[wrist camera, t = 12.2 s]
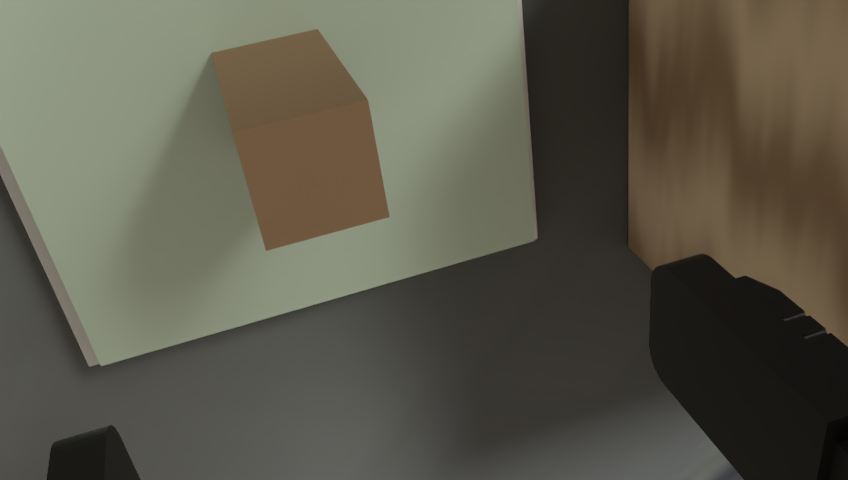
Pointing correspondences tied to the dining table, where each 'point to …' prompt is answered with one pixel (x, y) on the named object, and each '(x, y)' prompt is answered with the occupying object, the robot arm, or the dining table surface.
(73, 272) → the lid
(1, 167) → the grey mat
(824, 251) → the oak box
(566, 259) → the dining table surface
